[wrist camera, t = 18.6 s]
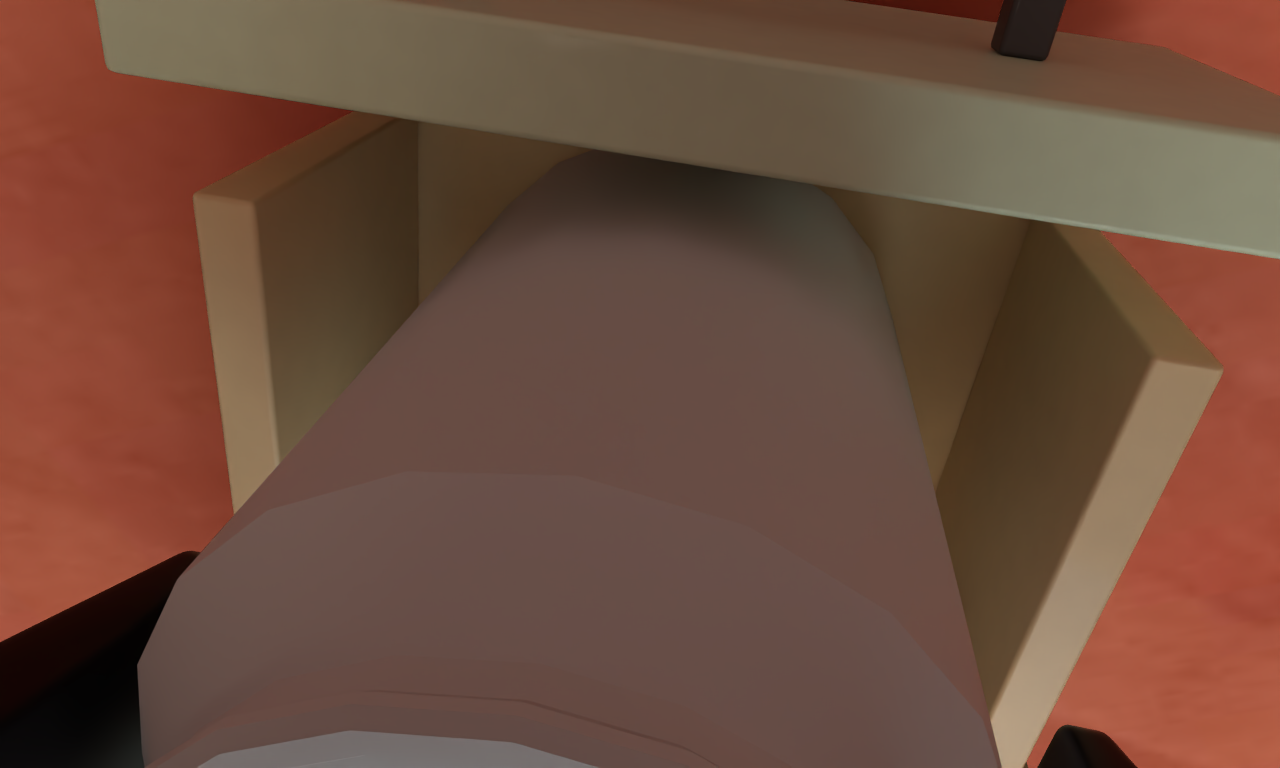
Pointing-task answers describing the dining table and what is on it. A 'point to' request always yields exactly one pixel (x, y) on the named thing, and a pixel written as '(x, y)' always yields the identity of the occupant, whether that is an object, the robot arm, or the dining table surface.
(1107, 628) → the dining table surface
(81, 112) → the dining table surface
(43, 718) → the robot arm
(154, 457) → the dining table surface
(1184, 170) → the drawer
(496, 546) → the can
